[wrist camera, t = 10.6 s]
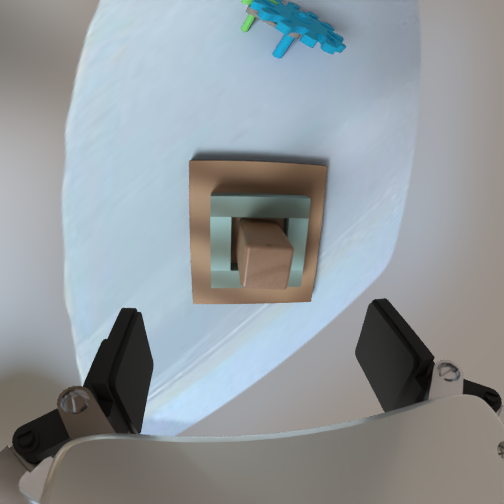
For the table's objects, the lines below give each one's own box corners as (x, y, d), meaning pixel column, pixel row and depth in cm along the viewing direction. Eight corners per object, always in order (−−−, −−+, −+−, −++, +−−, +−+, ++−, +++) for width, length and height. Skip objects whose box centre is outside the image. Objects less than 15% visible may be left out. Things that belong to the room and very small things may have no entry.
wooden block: (239, 216, 29) (245, 243, 22) (277, 220, 30) (296, 247, 23) (235, 253, 31) (240, 289, 23) (272, 255, 31) (287, 292, 24)
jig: (190, 160, 28) (186, 162, 25) (323, 165, 29) (334, 168, 26) (193, 298, 34) (191, 313, 31) (308, 296, 35) (315, 310, 32)
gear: (355, 36, 23) (340, 52, 18) (327, 70, 28) (303, 98, 23) (271, -15, 21) (226, -12, 16) (249, 22, 26) (203, 39, 21)
